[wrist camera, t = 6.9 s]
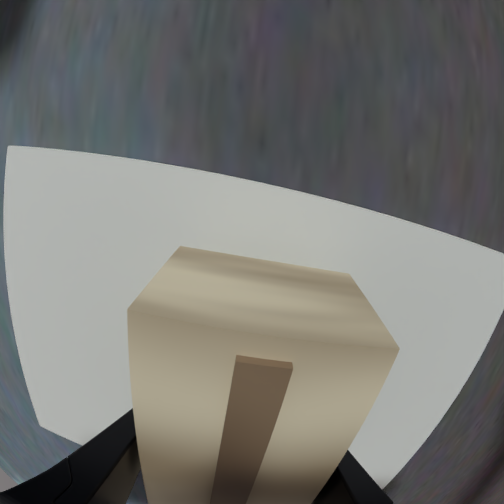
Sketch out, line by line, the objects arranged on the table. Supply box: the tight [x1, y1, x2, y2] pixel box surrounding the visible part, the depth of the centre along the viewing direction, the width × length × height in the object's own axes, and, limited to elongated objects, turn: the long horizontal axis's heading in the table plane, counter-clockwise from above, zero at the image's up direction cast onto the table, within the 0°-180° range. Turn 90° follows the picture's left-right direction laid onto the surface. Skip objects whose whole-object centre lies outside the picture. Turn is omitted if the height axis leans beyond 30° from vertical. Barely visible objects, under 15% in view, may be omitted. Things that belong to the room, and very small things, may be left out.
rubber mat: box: [4, 146, 504, 489], centre depth 12 cm, size 22×16×1 cm
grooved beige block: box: [127, 246, 400, 504], centre depth 8 cm, size 10×5×4 cm, turn 171°
